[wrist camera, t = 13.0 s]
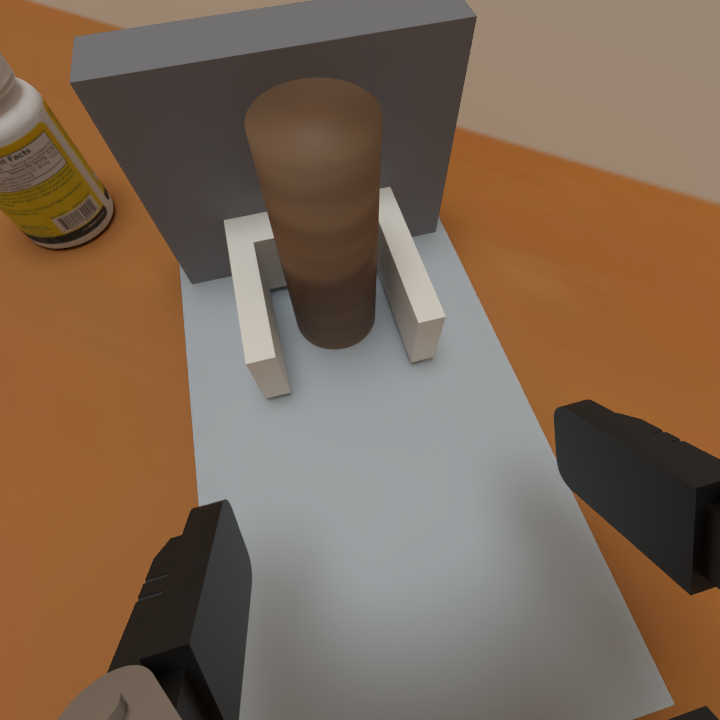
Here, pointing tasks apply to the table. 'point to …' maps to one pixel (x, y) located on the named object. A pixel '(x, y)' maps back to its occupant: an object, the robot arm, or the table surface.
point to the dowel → (322, 200)
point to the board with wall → (366, 402)
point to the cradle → (264, 272)
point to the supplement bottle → (45, 172)
